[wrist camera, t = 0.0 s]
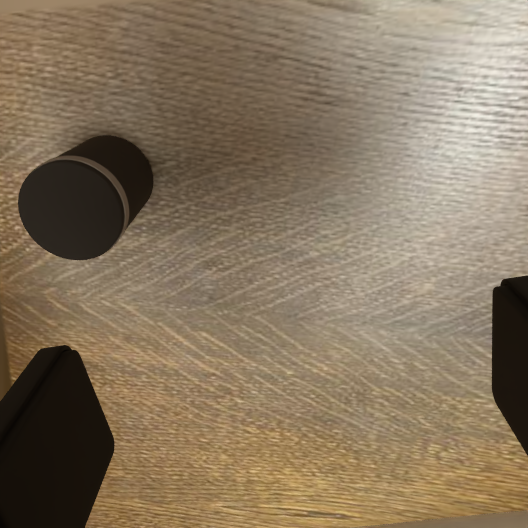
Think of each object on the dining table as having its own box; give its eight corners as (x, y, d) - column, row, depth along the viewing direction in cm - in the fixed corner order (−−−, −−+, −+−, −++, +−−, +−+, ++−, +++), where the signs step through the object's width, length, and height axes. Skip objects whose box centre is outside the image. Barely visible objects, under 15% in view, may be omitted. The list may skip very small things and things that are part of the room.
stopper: (57, 142, 26) (-1, 171, 20) (140, 126, 25) (103, 151, 20) (86, 223, 27) (39, 269, 22) (164, 209, 27) (136, 253, 22)
